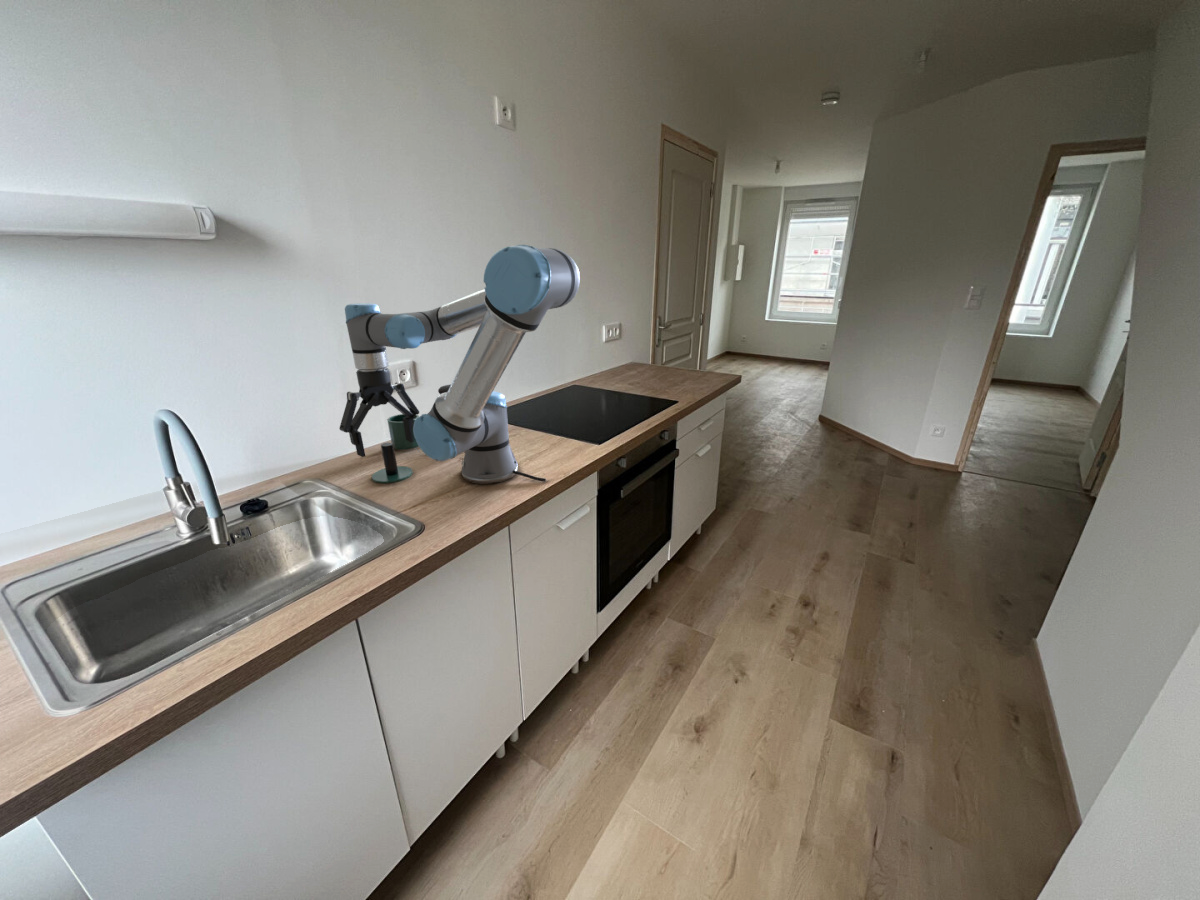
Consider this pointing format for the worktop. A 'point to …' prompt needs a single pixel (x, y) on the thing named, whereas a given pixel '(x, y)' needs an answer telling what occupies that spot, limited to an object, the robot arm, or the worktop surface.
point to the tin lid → (391, 467)
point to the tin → (400, 433)
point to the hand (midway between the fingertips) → (386, 448)
